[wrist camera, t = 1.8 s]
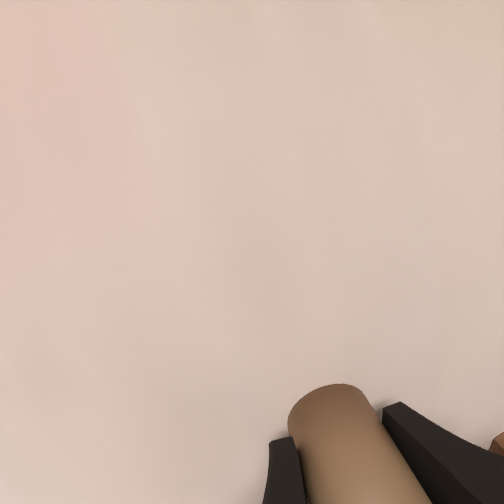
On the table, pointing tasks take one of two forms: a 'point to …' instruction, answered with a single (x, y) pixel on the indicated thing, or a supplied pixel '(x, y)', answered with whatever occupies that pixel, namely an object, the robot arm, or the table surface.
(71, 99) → the table surface
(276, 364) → the table surface
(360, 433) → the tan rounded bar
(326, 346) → the table surface
